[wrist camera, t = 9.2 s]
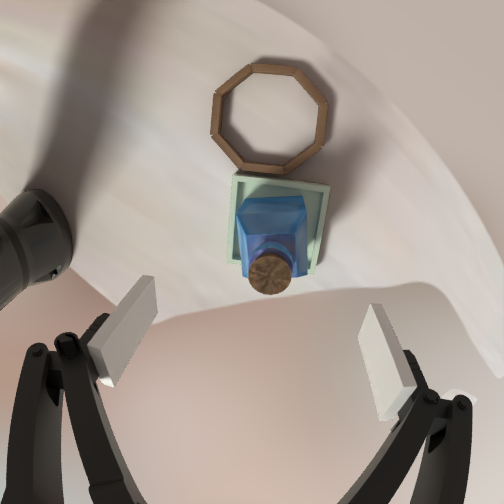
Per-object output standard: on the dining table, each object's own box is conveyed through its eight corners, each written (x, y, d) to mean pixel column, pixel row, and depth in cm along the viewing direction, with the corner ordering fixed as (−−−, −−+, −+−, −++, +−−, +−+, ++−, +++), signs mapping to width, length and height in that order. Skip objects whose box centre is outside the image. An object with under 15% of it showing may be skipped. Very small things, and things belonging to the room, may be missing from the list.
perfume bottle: (245, 198, 31) (222, 237, 20) (302, 195, 30) (312, 234, 19) (250, 250, 33) (232, 311, 22) (304, 248, 32) (311, 310, 21)
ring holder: (211, 165, 30) (207, 167, 29) (219, 65, 25) (216, 62, 24) (317, 177, 29) (318, 179, 28) (329, 74, 24) (331, 72, 23)
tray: (228, 257, 34) (226, 263, 33) (234, 173, 30) (232, 175, 29) (313, 268, 34) (314, 274, 32) (328, 184, 29) (330, 187, 28)
